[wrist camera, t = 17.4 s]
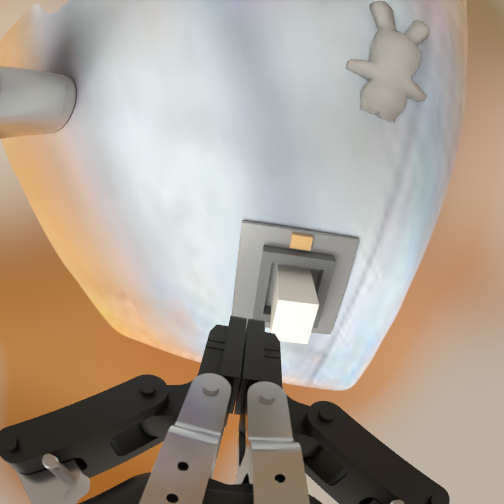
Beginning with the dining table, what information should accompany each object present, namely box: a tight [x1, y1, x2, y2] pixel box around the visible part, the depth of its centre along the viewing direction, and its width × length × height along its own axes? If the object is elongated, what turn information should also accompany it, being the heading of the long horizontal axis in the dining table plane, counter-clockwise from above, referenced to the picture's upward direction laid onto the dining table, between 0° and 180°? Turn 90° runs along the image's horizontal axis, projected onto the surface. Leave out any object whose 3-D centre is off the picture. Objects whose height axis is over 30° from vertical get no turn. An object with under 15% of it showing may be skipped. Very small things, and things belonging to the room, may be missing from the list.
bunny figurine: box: [346, 1, 429, 122], centre depth 21 cm, size 10×5×15 cm
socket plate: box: [232, 220, 359, 334], centre depth 33 cm, size 14×14×3 cm
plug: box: [270, 265, 319, 344], centre depth 30 cm, size 4×5×8 cm
